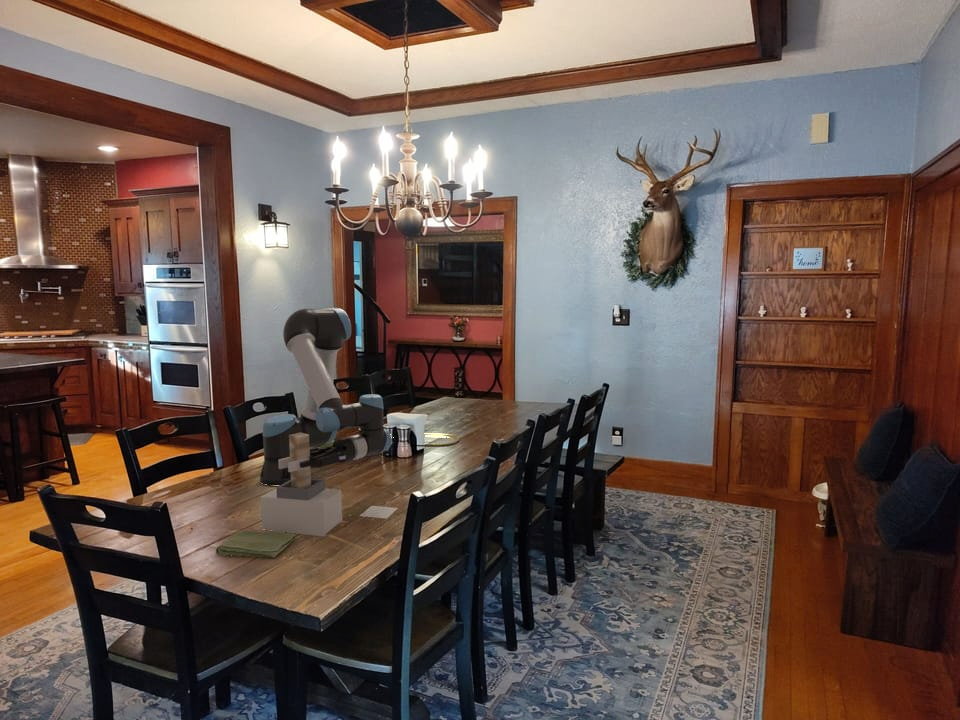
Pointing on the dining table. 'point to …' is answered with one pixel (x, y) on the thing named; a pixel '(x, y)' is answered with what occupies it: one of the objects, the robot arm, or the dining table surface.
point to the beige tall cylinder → (297, 452)
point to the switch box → (302, 509)
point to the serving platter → (441, 436)
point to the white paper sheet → (378, 512)
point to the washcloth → (255, 544)
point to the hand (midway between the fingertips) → (284, 465)
